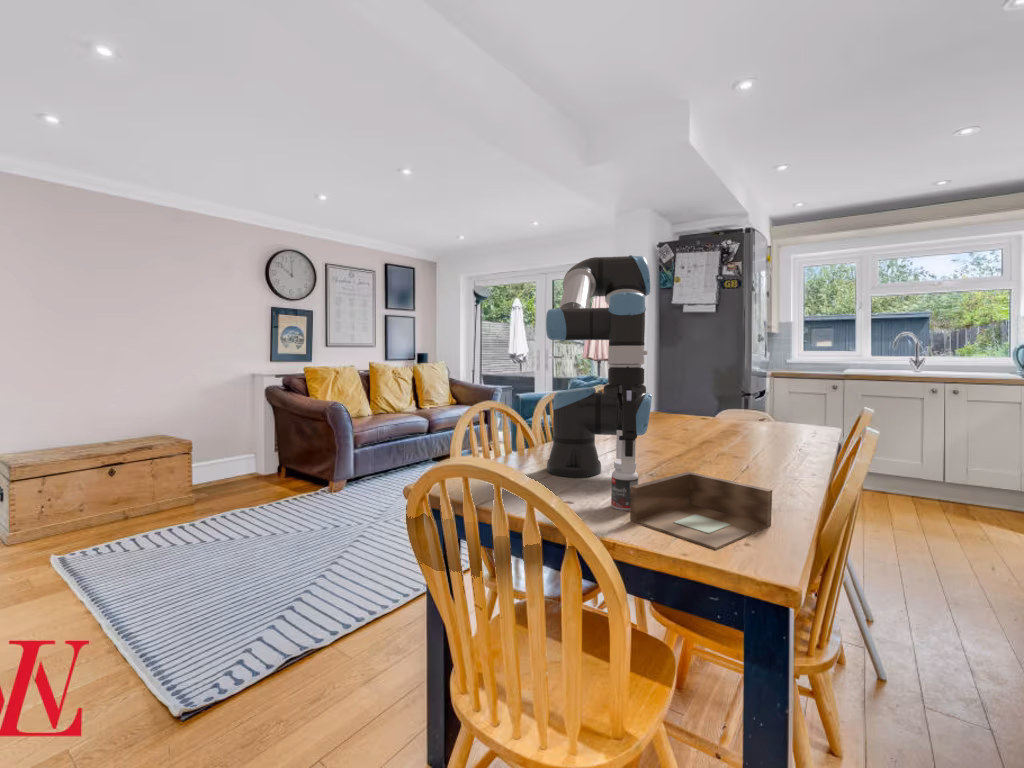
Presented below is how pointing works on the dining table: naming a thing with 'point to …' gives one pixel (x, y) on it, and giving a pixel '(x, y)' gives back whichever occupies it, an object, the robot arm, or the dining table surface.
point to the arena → (701, 508)
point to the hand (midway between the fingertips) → (625, 465)
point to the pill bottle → (622, 487)
